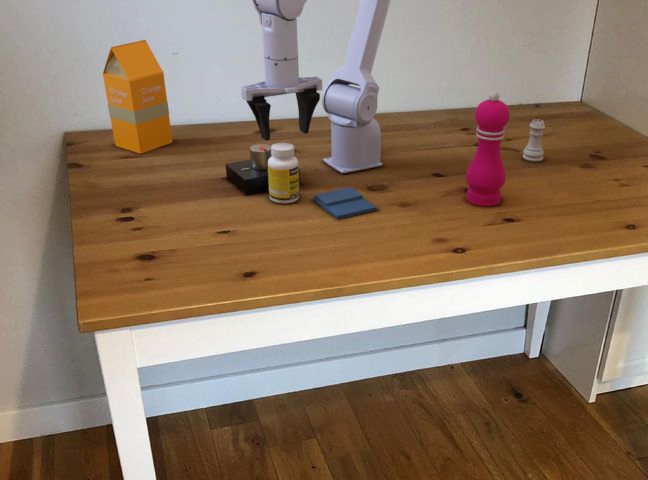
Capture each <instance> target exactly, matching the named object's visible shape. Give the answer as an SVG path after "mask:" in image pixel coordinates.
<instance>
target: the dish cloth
mask: <svg viewBox="0 0 648 480" xmlns="http://www.w3.org/2000/svg"><path fill="white" fill-rule="evenodd" d="M312 199H313V200H312V201H313V203H315V204H316V205H318V206H319V207H321V209H323V210H325V211H326V212H327V213H328V214H329V215H331V216H332V217H334V218H335V219H336V220H340V219H341V220H342V219H346V218H350V217H355V216H359V215H362V214H367V213H371V212H376V211H377V206H376V205H374V204H373V203H372V202H370V201H368V200H367V199H366V198H364V195H363V194H362V193H360V192H359V191H358V190H355V188H353V187H351V186H348V187H343V188H339V189H335V190H329V191H325V192H321V193H316V194H314V197H312Z"/></svg>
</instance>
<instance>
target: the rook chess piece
mask: <svg viewBox="0 0 648 480" xmlns="http://www.w3.org/2000/svg"><path fill="white" fill-rule="evenodd" d="M529 127H530V131H529V139H528V143H527V145H526V146H525V148H524V149H523V154H522V158H523V160H525V161H527V162H530V163H540V162H542V161H543V160H544V154H545V153H544V152H545V151H544V150H543V145H542V137H543V135H544V133H543V131H544V129H545V128H546V125H545V121H544V120H543V119H532V120H531V122H530V124H529Z"/></svg>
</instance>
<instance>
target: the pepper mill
mask: <svg viewBox="0 0 648 480" xmlns="http://www.w3.org/2000/svg"><path fill="white" fill-rule="evenodd" d="M499 99H500V93H499V91H497V90H492V91H491V92H490V93H489V95H488V99H486V100H485V99H484V100H483V101H481V102H480V103H479V104H478V106H477V107H476V108H475V113H474V120H475V122H476V123H477V125H478V126H477V127H476V133H475V135H476V137H477V149H476V151H475V155H474V157H473V158H472V160H471V162H470V163H469V166H468V167H467V170H466V174H465V182H466V183H467V185H468V186H469V187H468V188H467V190H466V201H467V202H468V203H470V204H472V205H475V206H478V207H494V206H497V205H498V204H499V203H500V202H501V197H502V192H501V188H502V187H504V185H505V183H506V171H505V170H506V169H505V166H504V163H503V160H502V156H501V142H502V140H503V139H504V138H505V132H506V130H505V127H506V126H507V124H508V122H509V121H510V109H509V107H508V105H507V104H506V103H505V102H504V101H502V100H499Z"/></svg>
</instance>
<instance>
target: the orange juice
mask: <svg viewBox="0 0 648 480" xmlns="http://www.w3.org/2000/svg"><path fill="white" fill-rule="evenodd" d="M102 77H103V78H102V79H103V83H104V91H105V94H106V101H107V107H108V113H109V114H108V115H109V118H110V123H111V129H112V135H113V140H114V146H115V147H118V148H121V149H124V150H127V151H130V152H134V153H136V154H140V155H141V154H144V153H147V152H149V151H150V152H151V151H152V150H155V149H158V148H161V147H164V146H167V145H170V144H173V135H172V128H171V120H170V109H169V101H168V96H167V89H166V82H165V81H166V80H165V74H164V71H163V69H162V67H161V65H160V64H159V62H158V60H157V58H156V56H155V54H154V52H153V50H152V49H151V47H150V46H149V43H148V41H147V39H143V40H138V41H134V42H129V43H124V44H120V45H114V46H111V47H110V49H109V53H108V56H107V59H106V62H105V66H104V69H103V72H102Z"/></svg>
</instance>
